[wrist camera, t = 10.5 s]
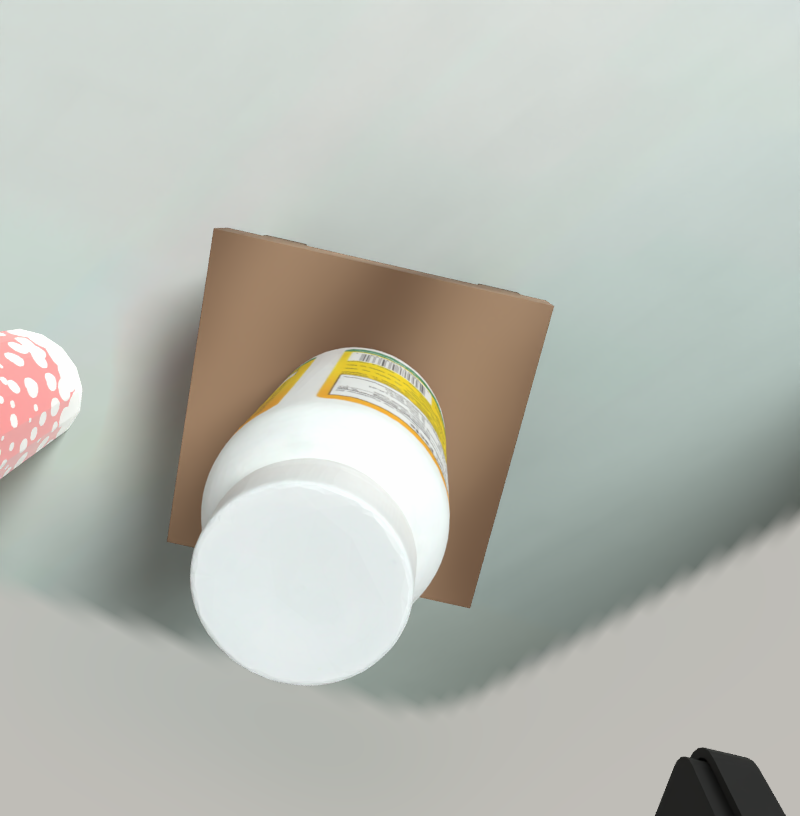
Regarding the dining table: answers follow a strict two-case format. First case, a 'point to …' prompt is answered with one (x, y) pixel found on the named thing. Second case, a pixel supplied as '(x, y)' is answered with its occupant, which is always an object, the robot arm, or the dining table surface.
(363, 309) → the footstool
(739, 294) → the dining table surface
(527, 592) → the dining table surface
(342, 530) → the supplement bottle
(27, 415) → the beverage cup
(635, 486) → the dining table surface
